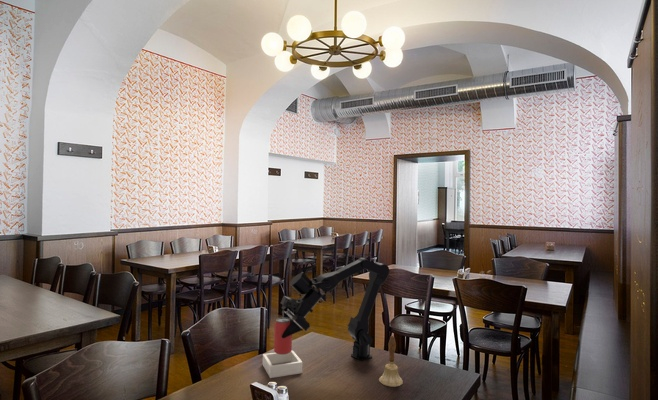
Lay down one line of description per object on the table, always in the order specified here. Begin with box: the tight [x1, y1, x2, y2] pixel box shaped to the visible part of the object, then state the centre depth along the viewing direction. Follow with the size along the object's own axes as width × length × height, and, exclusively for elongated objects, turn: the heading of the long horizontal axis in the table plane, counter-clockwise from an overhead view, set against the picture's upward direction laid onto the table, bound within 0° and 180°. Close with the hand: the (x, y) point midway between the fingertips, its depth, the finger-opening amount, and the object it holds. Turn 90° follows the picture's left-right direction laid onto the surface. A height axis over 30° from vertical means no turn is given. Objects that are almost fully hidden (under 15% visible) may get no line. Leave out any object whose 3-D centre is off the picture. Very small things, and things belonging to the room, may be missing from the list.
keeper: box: [262, 350, 303, 379], centre depth 143 cm, size 12×12×4 cm
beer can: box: [273, 317, 293, 355], centre depth 144 cm, size 7×7×12 cm
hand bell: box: [378, 335, 404, 388], centre depth 135 cm, size 8×8×16 cm
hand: (279, 334), depth 143 cm, fingers closed on beer can, 7 cm apart
